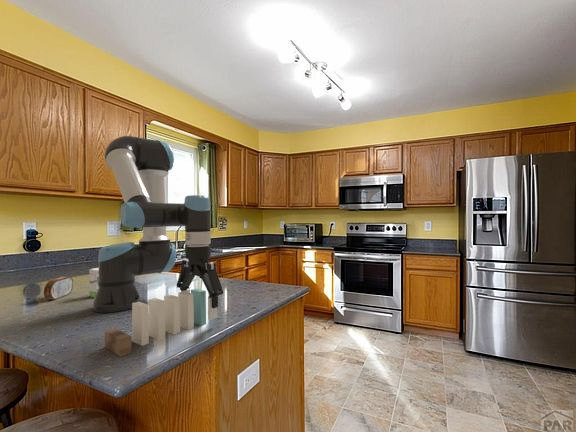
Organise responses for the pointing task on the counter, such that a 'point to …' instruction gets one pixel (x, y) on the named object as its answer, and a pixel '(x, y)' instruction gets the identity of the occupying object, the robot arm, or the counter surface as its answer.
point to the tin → (58, 287)
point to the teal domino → (199, 306)
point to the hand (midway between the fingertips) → (198, 314)
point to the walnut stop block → (118, 342)
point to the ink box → (94, 281)
